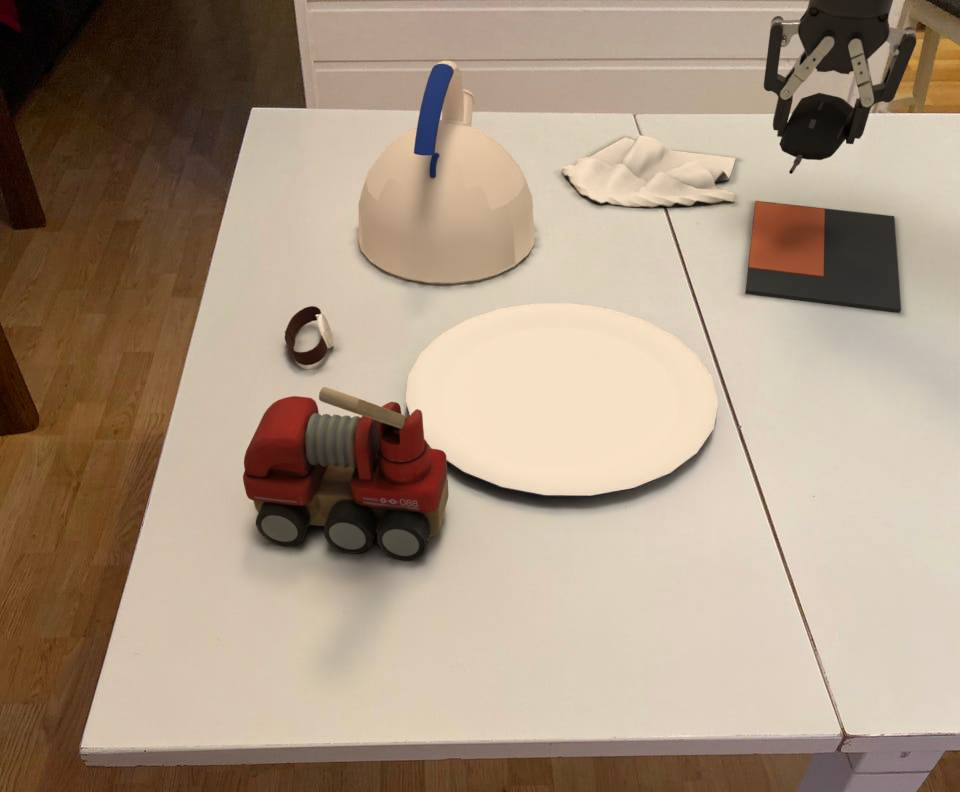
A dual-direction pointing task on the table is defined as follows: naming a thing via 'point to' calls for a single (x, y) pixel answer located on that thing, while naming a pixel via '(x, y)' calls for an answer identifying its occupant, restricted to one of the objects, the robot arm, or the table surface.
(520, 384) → the plate
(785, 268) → the mat
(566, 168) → the cloth
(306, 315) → the watch
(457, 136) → the kettle
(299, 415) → the toy fire truck
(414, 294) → the table surface
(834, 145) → the gaming mouse
